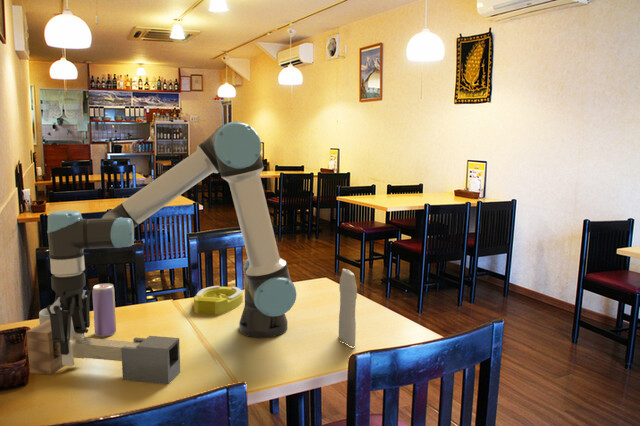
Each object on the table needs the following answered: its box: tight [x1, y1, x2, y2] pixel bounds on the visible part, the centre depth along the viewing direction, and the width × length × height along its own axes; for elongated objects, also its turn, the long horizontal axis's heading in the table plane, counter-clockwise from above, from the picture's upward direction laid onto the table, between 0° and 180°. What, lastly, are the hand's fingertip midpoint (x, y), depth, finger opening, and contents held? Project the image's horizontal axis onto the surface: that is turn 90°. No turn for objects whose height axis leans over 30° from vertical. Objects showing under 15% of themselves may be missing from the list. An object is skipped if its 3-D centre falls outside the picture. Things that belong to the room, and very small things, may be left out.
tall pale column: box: [338, 268, 358, 347], centre depth 140 cm, size 11×4×22 cm, turn 21°
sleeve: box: [121, 335, 181, 385], centre depth 119 cm, size 12×6×9 cm, turn 81°
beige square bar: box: [53, 337, 140, 362], centre depth 120 cm, size 28×4×4 cm, turn 81°
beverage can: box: [91, 283, 117, 338], centre depth 144 cm, size 6×6×15 cm
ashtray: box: [193, 285, 244, 316], centre depth 172 cm, size 16×21×5 cm
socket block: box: [25, 320, 71, 376], centre depth 123 cm, size 6×8×11 cm
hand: (73, 361), depth 122 cm, fingers closed on beige square bar, 4 cm apart
